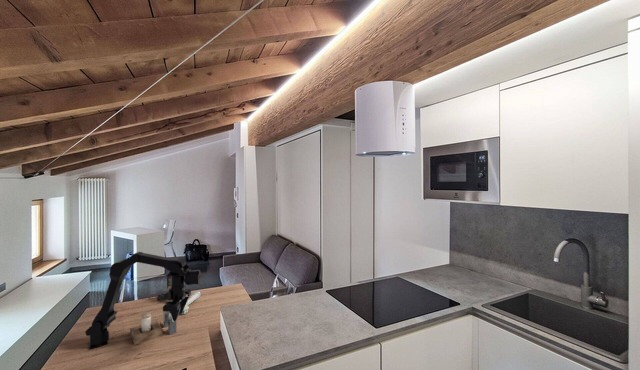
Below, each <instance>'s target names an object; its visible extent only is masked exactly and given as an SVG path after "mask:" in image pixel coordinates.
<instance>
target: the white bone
mask: <svg viewBox="0 0 640 370" xmlns="http://www.w3.org/2000/svg"><path fill="white" fill-rule="evenodd" d="M201 296H202V292H201V291H200V290H197V291H194V292H193V293H192V294H191V295H190V296H188V297H189V299H188V301H187V303H186V305H185V308H184V310H183V312H182V314H181V315H185V314H188V313H189V309H190V306H189V305H190V304H192V303H193V302H195V301H196V300H198V299H199V298H200V297H201Z"/></svg>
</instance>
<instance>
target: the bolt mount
mask: <svg viewBox="0 0 640 370" xmlns="http://www.w3.org/2000/svg"><path fill="white" fill-rule="evenodd" d="M169 313H170V312H169V311H165V312H163V313H162V315H163V316H162V317H163V318H162V321H163V323H162V325H163V328H167V329H168V330H167V333H168V335H169V336H171V335H173V334H177V321H174V322H172V321H171V320H170V318H169Z"/></svg>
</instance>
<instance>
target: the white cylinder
mask: <svg viewBox="0 0 640 370" xmlns="http://www.w3.org/2000/svg"><path fill="white" fill-rule="evenodd" d="M140 318H141V324H140V325H141V333H144V332H147V331H150V330H151V322H152V313H151V312H145V313H143V314H141V317H140Z"/></svg>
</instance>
